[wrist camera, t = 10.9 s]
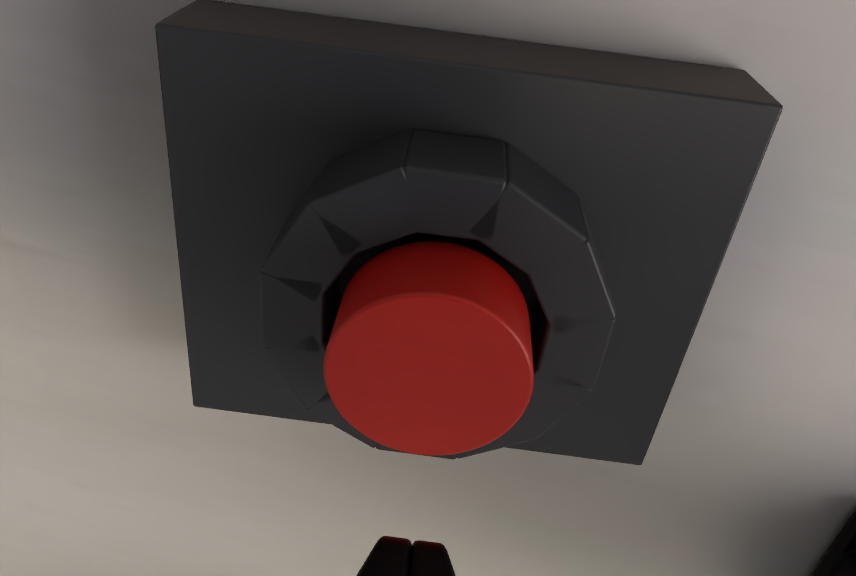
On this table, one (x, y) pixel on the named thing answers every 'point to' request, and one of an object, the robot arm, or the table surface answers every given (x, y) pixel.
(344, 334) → the alarm button
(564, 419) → the alarm housing
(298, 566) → the table surface
